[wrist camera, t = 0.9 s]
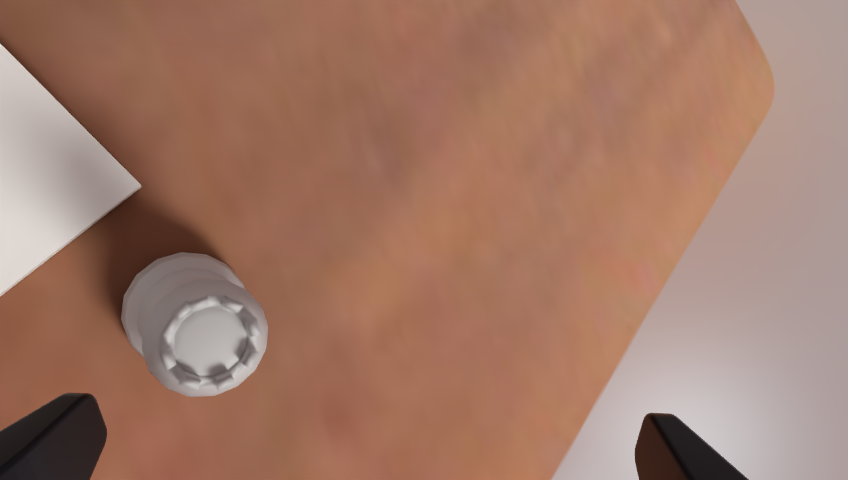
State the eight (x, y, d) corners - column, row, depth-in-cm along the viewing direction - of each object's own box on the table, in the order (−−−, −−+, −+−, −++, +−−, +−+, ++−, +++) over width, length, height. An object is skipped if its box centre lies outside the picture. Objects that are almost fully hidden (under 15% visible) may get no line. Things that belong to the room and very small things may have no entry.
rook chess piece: (267, 296, 23) (328, 322, 16) (195, 387, 21) (225, 461, 14) (177, 228, 21) (199, 222, 14) (92, 322, 20) (68, 368, 13)
